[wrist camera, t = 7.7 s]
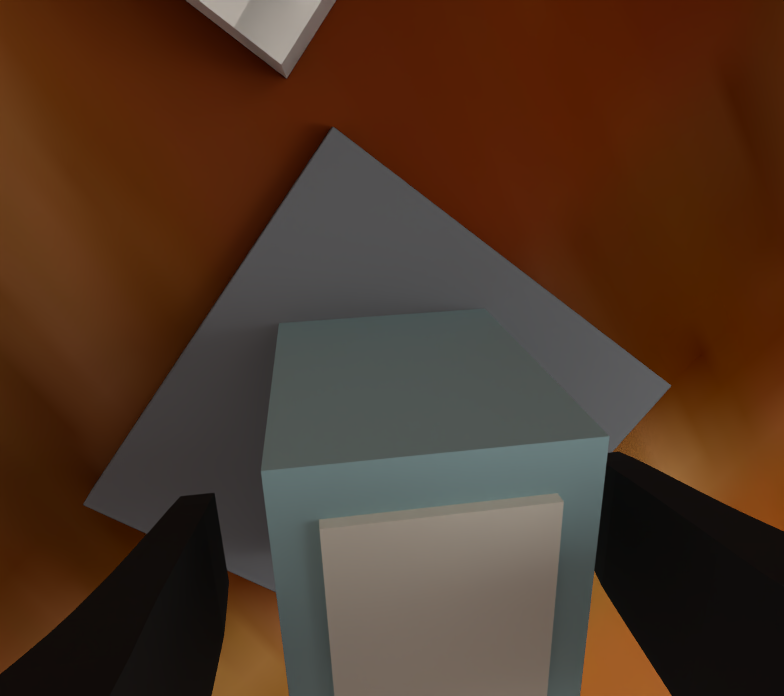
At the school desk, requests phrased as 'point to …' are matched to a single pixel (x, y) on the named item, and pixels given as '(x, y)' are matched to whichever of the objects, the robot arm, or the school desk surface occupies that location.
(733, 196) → the school desk surface
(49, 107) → the school desk surface
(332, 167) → the charcoal mat
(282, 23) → the parts bin
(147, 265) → the school desk surface
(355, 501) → the teal labelled box
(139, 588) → the robot arm
